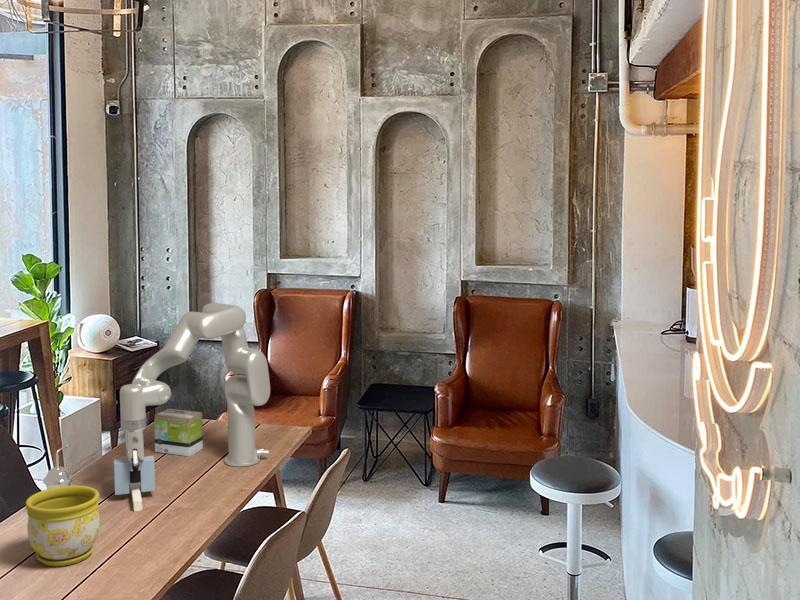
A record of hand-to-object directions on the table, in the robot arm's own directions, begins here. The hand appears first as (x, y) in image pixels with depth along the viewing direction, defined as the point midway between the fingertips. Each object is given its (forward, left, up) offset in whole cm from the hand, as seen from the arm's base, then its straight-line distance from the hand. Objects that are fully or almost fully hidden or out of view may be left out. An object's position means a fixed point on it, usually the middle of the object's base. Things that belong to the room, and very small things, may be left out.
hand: (135, 479), depth 261 cm
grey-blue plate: (0, 0, -4) cm, 4 cm away
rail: (0, 0, -6) cm, 6 cm away
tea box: (-18, -44, -6) cm, 48 cm away
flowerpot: (+20, +38, -6) cm, 43 cm away
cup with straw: (+22, +4, -6) cm, 23 cm away
